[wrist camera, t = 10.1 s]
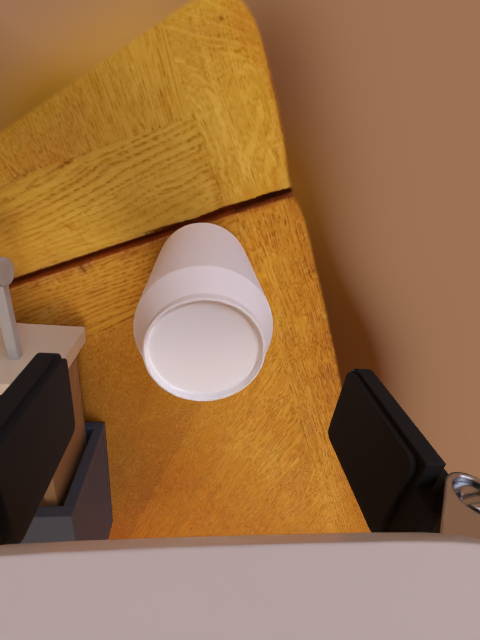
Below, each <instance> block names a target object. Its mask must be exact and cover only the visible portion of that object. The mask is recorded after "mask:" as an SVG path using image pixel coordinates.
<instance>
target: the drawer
mask: <svg viewBox="0 0 480 640" xmlns="http://www.w3.org/2000/svg"><path fill="white" fill-rule="evenodd" d="M13 277H14V266H13V263H12V261H11V260H10V259H9V258H6V257H0V395H2V394H3V392H4V391H5V390H6V389H7V388H8V387H9V385H10V384H11V383H12V382H13V381H14V380H15V378H16V377H17V376H18V375H19V374H20V373H21V371H22V370H23V369H24V368H25V367H26V366H27V364H28V363H29V362H30V361H31V360H32V359H33V357H34V356H35V355H36V354H37V353H40V352H42V353H59V354H60V355H61V357H62V358H65V359H67V362H68V370H69V377H70V385H71V393H72V401H73V408H74V416H75V430H74V434H73V436H72V438H71V440H70V442H69V444H68V447H67V449H66V451H65V453H64V455H63V457H62V459H61V461H60V463H59V466H58V468H57V470H56V472H55V474H54V476H53V478H52V480H51V482H50V484H49V487H48V489H47V491H46V493H45V495H44V497H43V499H42V501H41V503H40V505H39V507H41V506H63V505H64V502H65V500H66V497H67V495H68V492H69V490H70V487H71V485H72V482H73V480H74V477H75V474H76V472H77V469H78V467H79V464H80V462H81V459H82V457H83V454H84V452H85V449H86V446H87V441H86V432H85V424H84V415H83V407H82V398H81V390H80V381H79V373H78V364H77V357H76V356H77V355H78V353H79V351H80V350H81V348H82V346H83V345H84V343H85V342H86V334H85V327H76V326H59V325H42V324H25V323H16V319H15V314H14V309H13V305H12V300H11V295H10V290H9V284H10V283H11V282H12V280H13Z"/></svg>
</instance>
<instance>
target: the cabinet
mask: <svg viewBox="0 0 480 640" xmlns="http://www.w3.org/2000/svg"><path fill="white" fill-rule="evenodd" d="M84 424H85V432H86V441H87V446H86V449H85V452H84V454H83V457H82V459H81V462H80V464H79V467H78V469H77V472H76V474H75V477H74V480H73V482H72V485H71V487H70V490H69V492H68V495H67V497H66V500H65V502H64V505H63V506H41V507H39V508H38V510H37V512H36V514H35V516H34V518H33V520H32V522H31V524H30V526H29V529H28V531H27V533H26V535H25V537H24V539H23V540H22V542H21V543H19V544H23V543H43V542H63V541H85V540H108V538H109V534H110V530H111V525H112V521H113V519H112V506H111V494H110V481H109V469H108V456H107V443H106V431H105V423H96V422H84Z"/></svg>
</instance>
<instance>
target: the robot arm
mask: <svg viewBox="0 0 480 640" xmlns="http://www.w3.org/2000/svg"><path fill="white" fill-rule="evenodd" d="M74 430H75V416H74V408H73V401H72V393H71V385H70V377H69V370H68V362H67V359H65V358H62V357H61V355H60V354H59V353H42V352H40V353H37V354H36V355H35V356H34V357H33V359H32V360H31V361H30V362H29V363H28V364H27V366H26V367H25V368H24V369H23V370H22V371H21V373H20V374H19V375H18V376H17V377H16V378H15V380H14V381H13V382H12V383H11V384H10V385H9V387H8V388H7V389H6V390H5V391H4V392H3V394H2V395H0V640H480V479H478V478H477V477H474V476H472V475H469V474H467V473H461V472H452V473H450V474H448V473H447V472H446V471H445V469H444V467H445V465H446V464H445V462H444V461H443V460H442V459H441V457H440V456H439V455H438V454H437V452H436V451H435V450H434V449H433V447H432V446H431V445H430V443H429V442H428V441H427V440H426V438H425V437H424V436H423V434H422V433H421V432H420V431H419V429H418V428H417V427H416V426H415V424H414V423H413V422H412V421H411V419H410V418H409V417H408V415H407V414H406V413H405V412H404V410H403V409H402V408H401V407H400V405H399V404H398V403H397V402H396V400H395V399H394V398H393V396H392V395H391V394H390V393H389V391H388V390H387V389H386V388H385V386H384V385H383V384H382V382H381V381H380V380H379V379H378V377H377V376H376V375H375V374H374V372H373V371H371V370H370V369H353V370H352V371H351V372H349V373H348V374H347V375H346V378H345V381H344V384H343V387H342V390H341V393H340V396H339V399H338V402H337V405H336V408H335V411H334V414H333V417H332V420H331V423H330V426H329V430H328V434H329V439H330V441H331V444H332V446H333V448H334V450H335V453H336V455H337V457H338V459H339V462H340V464H341V466H342V468H343V471H344V473H345V475H346V477H347V480H348V482H349V484H350V486H351V489H352V491H353V493H354V495H355V498H356V500H357V502H358V504H359V507H360V509H361V511H362V513H363V515H364V518H365V520H366V522H367V524H368V527H369V529H370V531H371V532H372V533H328V534H283V535H245V536H210V537H175V538H145V539H115V540H85V541H63V542H43V543H23V544H19V543H21V542H22V540H23V539H24V537H25V535H26V533H27V531H28V529H29V526H30V524H31V522H32V520H33V518H34V516H35V514H36V512H37V510H38V508H39V505H40V503H41V501H42V499H43V497H44V495H45V493H46V491H47V489H48V487H49V484H50V482H51V480H52V478H53V476H54V474H55V472H56V470H57V468H58V466H59V463H60V461H61V459H62V457H63V455H64V453H65V451H66V449H67V447H68V444H69V442H70V440H71V438H72V436H73V434H74Z"/></svg>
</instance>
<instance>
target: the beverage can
mask: <svg viewBox="0 0 480 640" xmlns="http://www.w3.org/2000/svg"><path fill="white" fill-rule="evenodd" d="M133 333H134V339H135V342H136V345H137V348H138V350H139V352H140V354H141V356H142V357H143V360H144V364H145V367H146V369H147V371H148V373H149V375H150V376H151V377H152V379H153V380H154V381H155V382H156V383H157V384H158V385H159V386H160V387H161V388H163V389H164V390H165V391H167V392H169V393H171V394H173V395H175V396H177V397H180V398H183V399H187V400H193V401H213V400H219V399H223V398H226V397H229V396H231V395H233V394H235V393H237V392H239V391H241V390H242V389H244V388H245V387H246V386H247V385H249V384H250V383H251V382H252V381H253V380H254V378H255V377H256V376H257V374H258V373H259V371H260V369H261V367H262V365H263V362H264V358H265V354H266V352H267V350H268V348H269V345H270V342H271V339H272V333H273V318H272V313H271V309H270V307H269V304H268V302H267V299H266V297H265V295H264V293H263V291H262V288H261V286H260V284H259V282H258V279H257V277H256V275H255V273H254V271H253V268H252V266H251V264H250V262H249V260H248V257H247V255H246V253H245V251H244V249H243V247H242V245H241V244H240V242H239V241H238V240H237V238H236V237H235V236H234V235H233V234H231V233H230V232H229V231H227V230H226V229H224V228H222V227H220V226H218V225H215V224H210V223H194V224H189V225H186V226H184V227H182V228H180V229H178V230H177V231H175V232H174V233H173V234H172V235H171V236H170V237H169V238H168V239H167V240H166V242H165V243H164V245H163V247H162V249H161V251H160V253H159V255H158V258H157V260H156V262H155V265H154V267H153V270H152V272H151V274H150V277H149V279H148V281H147V284H146V286H145V289H144V291H143V293H142V296H141V298H140V301H139V303H138V305H137V308H136V311H135V315H134V321H133Z"/></svg>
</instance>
